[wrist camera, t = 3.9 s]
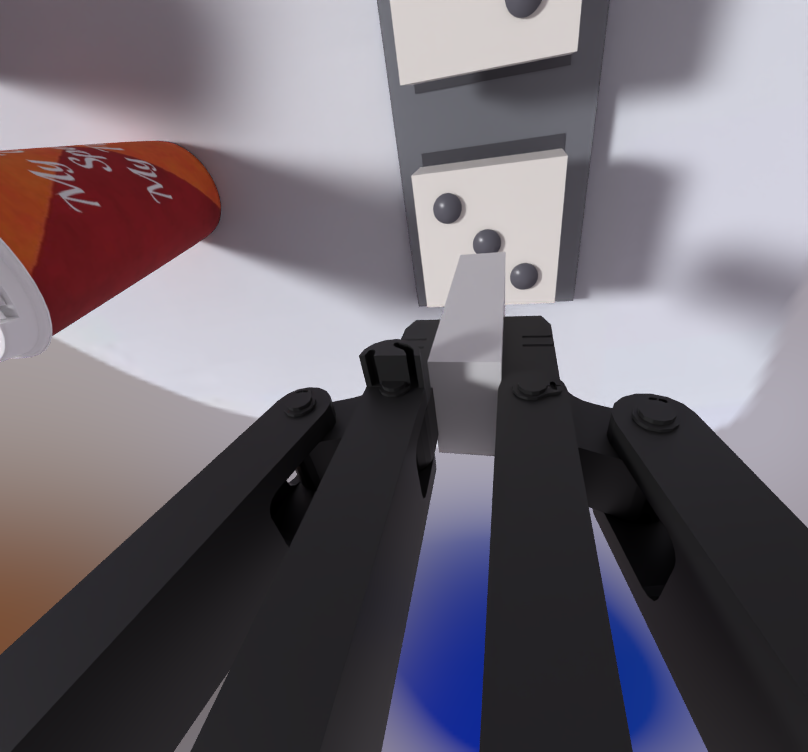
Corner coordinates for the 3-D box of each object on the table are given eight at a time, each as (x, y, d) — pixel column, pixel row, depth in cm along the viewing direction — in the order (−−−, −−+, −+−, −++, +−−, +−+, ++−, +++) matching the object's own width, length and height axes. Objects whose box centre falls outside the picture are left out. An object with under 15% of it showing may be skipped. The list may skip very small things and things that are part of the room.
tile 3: (420, 167, 17) (410, 176, 16) (562, 148, 16) (568, 156, 14) (433, 290, 21) (426, 308, 19) (550, 285, 19) (554, 304, 18)
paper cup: (217, 121, 21) (-100, 164, 10) (249, 259, 26) (58, 389, 15) (96, 115, 22) (-304, 147, 11) (148, 247, 27) (-98, 360, 16)
